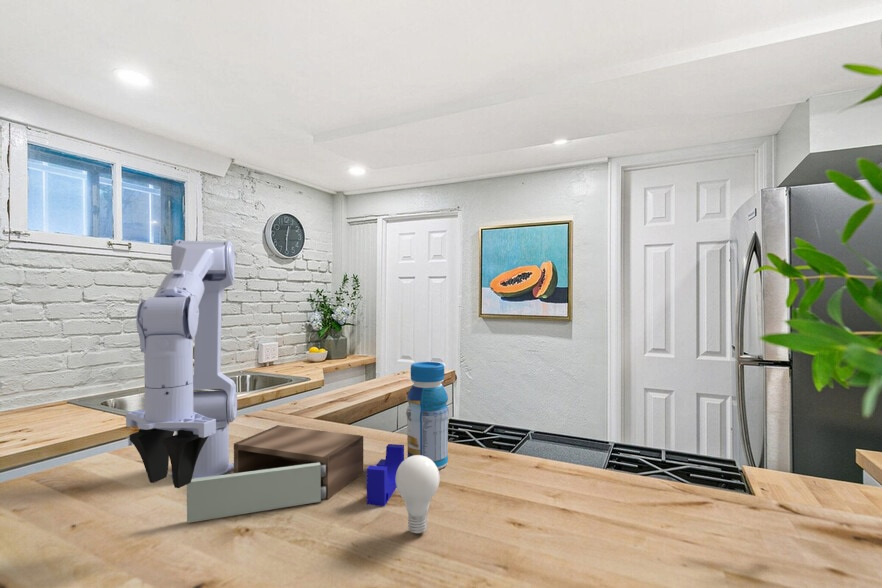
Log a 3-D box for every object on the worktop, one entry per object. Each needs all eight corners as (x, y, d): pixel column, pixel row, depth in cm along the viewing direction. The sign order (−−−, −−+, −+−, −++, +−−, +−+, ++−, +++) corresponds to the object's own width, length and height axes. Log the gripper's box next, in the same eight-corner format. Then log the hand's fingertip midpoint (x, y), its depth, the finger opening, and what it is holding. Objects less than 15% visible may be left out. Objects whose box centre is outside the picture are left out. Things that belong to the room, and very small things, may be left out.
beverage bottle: (440, 475, 85) (440, 368, 84) (399, 469, 87) (399, 366, 87) (454, 458, 92) (453, 361, 92) (415, 454, 95) (415, 359, 95)
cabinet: (234, 482, 82) (233, 443, 82) (278, 459, 93) (277, 425, 93) (328, 499, 75) (327, 457, 75) (363, 472, 86) (363, 435, 86)
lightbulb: (423, 550, 60) (423, 468, 60) (386, 536, 64) (386, 459, 63) (448, 528, 66) (447, 453, 65) (412, 517, 69) (412, 445, 69)
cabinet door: (186, 522, 67) (186, 482, 67) (188, 518, 68) (188, 479, 68) (326, 500, 74) (326, 464, 74) (325, 497, 75) (325, 461, 75)
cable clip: (381, 474, 85) (381, 443, 85) (404, 476, 84) (404, 444, 84) (358, 504, 73) (357, 468, 73) (384, 507, 73) (384, 470, 72)
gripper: (102, 386, 60) (104, 486, 61) (183, 394, 56) (184, 504, 56) (152, 376, 67) (153, 467, 67) (228, 383, 62) (228, 481, 62)
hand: (170, 482), depth 62 cm, fingers open, 4 cm apart
